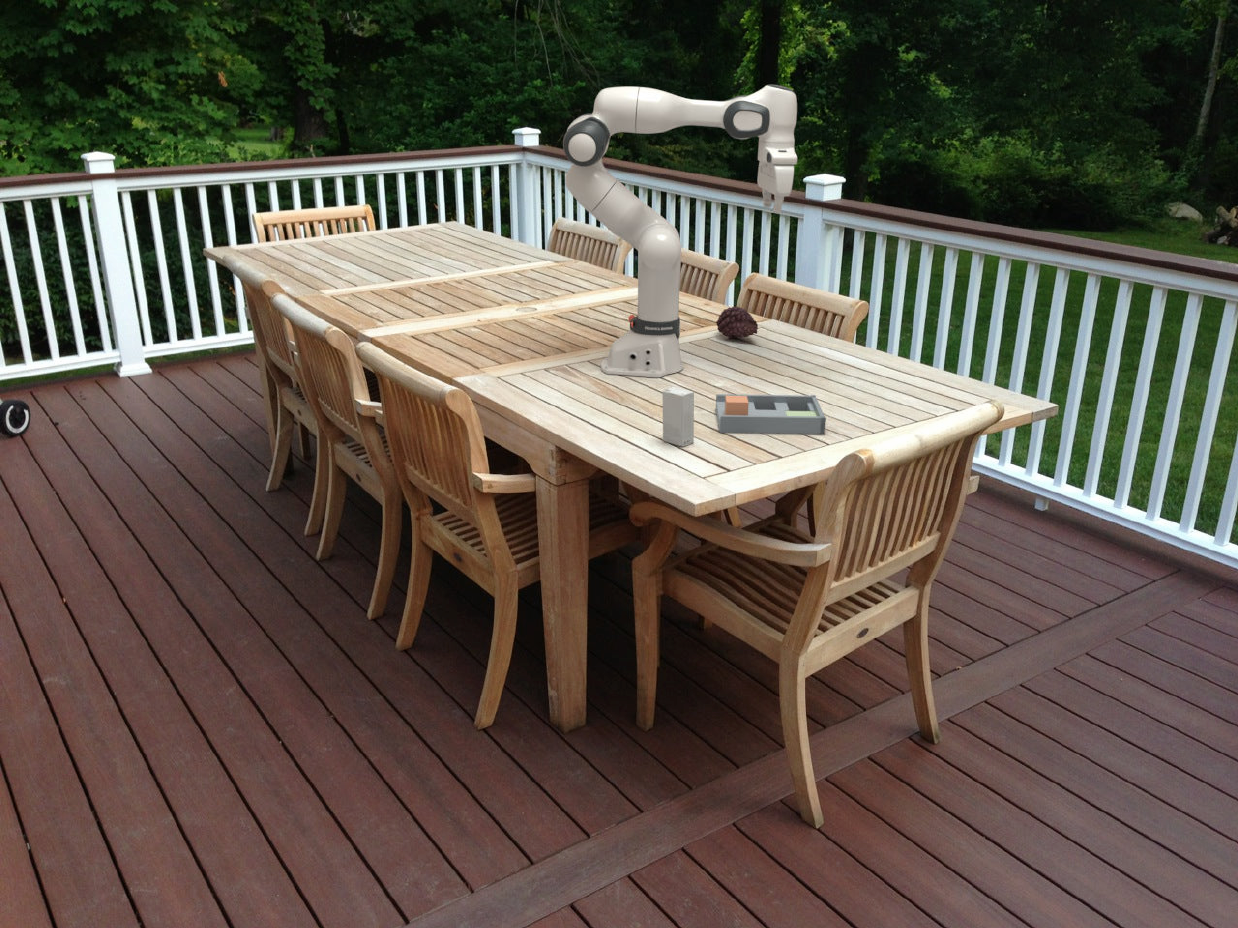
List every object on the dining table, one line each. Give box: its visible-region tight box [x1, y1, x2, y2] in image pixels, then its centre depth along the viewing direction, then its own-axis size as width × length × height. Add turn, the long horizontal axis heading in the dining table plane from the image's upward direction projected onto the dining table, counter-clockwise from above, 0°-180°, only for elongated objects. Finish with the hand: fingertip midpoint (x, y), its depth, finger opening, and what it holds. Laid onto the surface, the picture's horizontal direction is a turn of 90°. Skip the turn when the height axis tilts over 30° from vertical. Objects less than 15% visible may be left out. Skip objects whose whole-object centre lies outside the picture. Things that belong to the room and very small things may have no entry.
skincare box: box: [661, 386, 695, 447], centre depth 243 cm, size 6×4×12 cm
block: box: [725, 396, 749, 415], centre depth 255 cm, size 5×5×4 cm
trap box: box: [715, 393, 827, 435], centre depth 258 cm, size 24×17×4 cm
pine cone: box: [715, 306, 759, 340], centre depth 326 cm, size 18×10×10 cm, turn 32°
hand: (771, 210), depth 278 cm, fingers open, 8 cm apart
